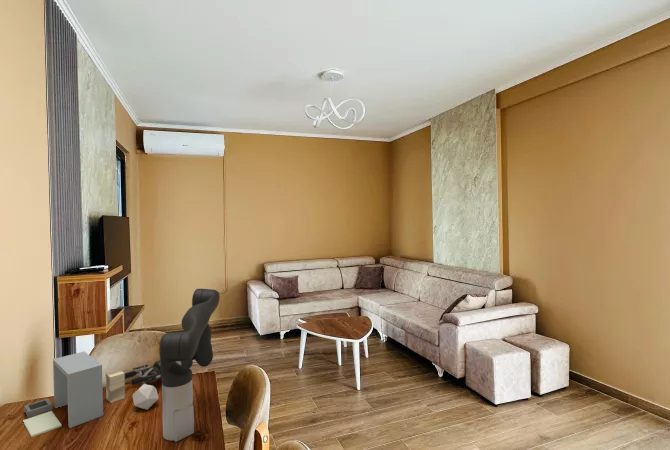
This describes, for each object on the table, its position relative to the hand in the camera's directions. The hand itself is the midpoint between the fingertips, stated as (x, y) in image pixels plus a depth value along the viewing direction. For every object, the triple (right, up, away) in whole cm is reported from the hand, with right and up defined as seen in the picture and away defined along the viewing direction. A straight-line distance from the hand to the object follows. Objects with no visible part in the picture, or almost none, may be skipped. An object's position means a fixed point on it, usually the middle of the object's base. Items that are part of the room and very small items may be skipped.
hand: (127, 379), depth 145 cm
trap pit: (-26, -6, -12) cm, 29 cm away
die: (+13, -6, -10) cm, 17 cm away
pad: (-18, -7, -21) cm, 28 cm away
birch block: (-3, -6, -3) cm, 7 cm away
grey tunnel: (-11, -6, -13) cm, 18 cm away
